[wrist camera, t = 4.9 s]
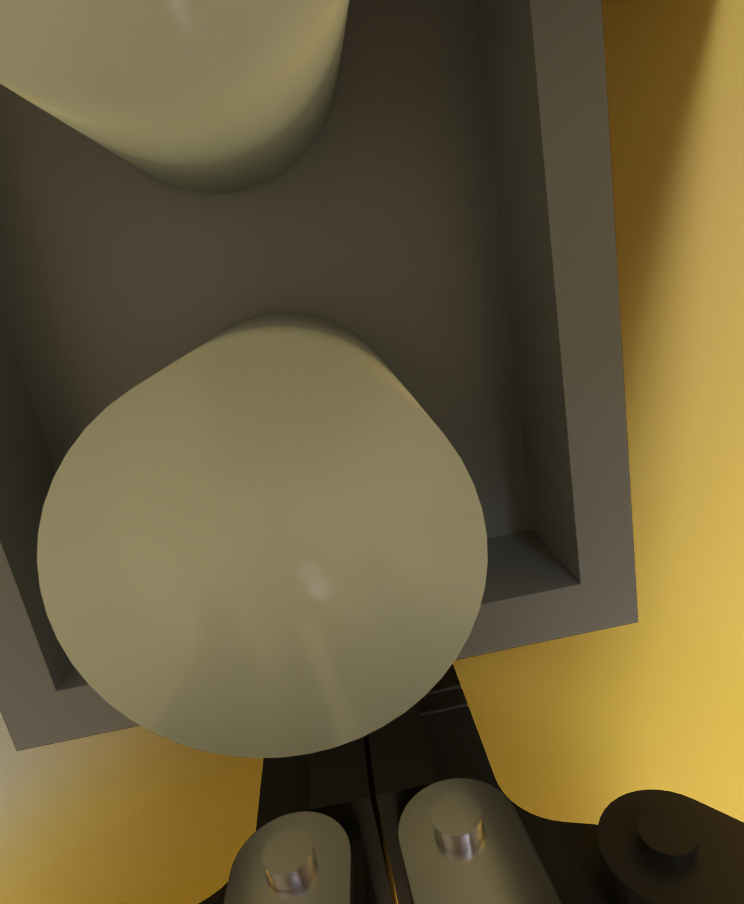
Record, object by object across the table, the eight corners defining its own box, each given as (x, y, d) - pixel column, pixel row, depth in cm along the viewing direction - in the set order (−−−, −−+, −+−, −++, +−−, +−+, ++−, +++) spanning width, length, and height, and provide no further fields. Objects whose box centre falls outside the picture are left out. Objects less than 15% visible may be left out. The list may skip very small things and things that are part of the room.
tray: (-192, -162, 8) (-446, -386, 5) (488, -262, 8) (571, -517, 6) (86, 639, 11) (16, 751, 9) (563, 543, 12) (638, 622, 9)
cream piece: (148, 333, 9) (-28, 394, 4) (386, 294, 9) (463, 316, 5) (203, 551, 10) (107, 794, 5) (416, 513, 10) (505, 715, 6)
